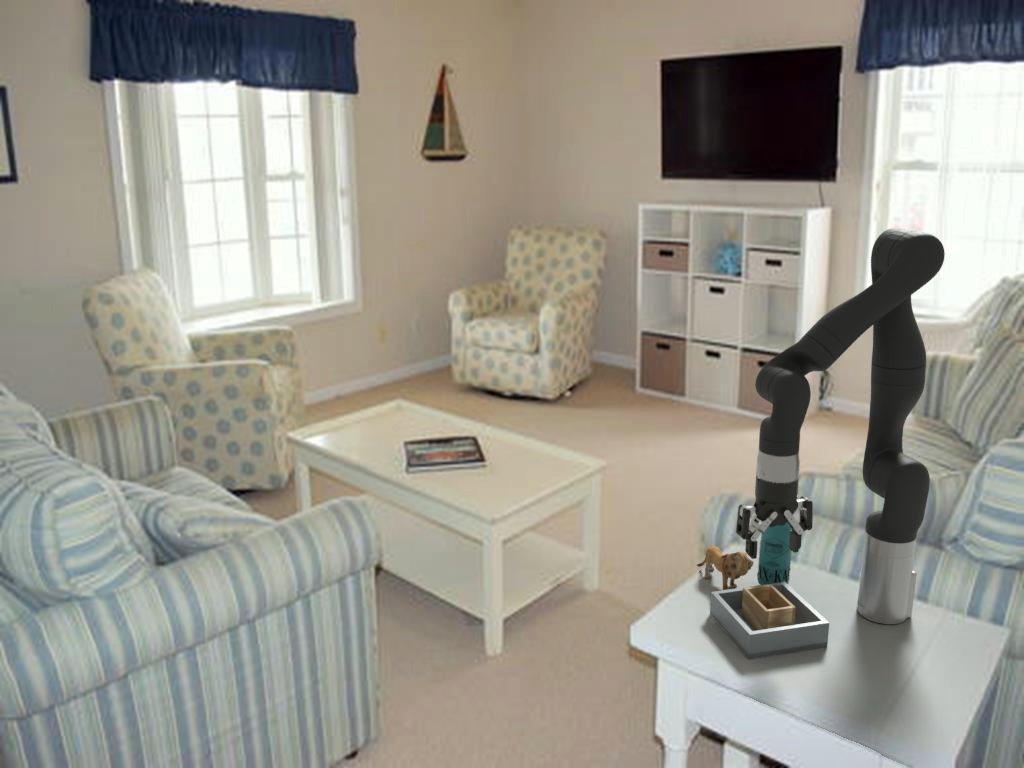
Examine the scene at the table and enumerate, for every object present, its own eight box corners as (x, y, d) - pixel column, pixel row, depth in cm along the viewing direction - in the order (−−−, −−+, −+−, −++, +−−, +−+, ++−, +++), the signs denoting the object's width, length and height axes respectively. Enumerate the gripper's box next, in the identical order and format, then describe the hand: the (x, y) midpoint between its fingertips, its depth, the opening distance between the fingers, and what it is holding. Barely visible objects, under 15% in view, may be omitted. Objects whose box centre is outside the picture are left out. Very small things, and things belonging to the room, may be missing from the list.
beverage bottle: (754, 580, 194) (760, 493, 188) (786, 582, 193) (793, 494, 188) (758, 596, 188) (764, 506, 182) (791, 598, 187) (798, 507, 181)
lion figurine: (755, 592, 189) (758, 553, 187) (736, 599, 187) (739, 559, 184) (705, 564, 201) (707, 527, 199) (687, 571, 199) (689, 533, 196)
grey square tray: (783, 604, 185) (784, 581, 183) (827, 646, 170) (829, 622, 168) (709, 614, 181) (711, 592, 180) (748, 659, 166) (750, 634, 165)
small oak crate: (769, 611, 180) (771, 584, 178) (793, 635, 172) (795, 607, 170) (741, 615, 179) (743, 588, 177) (764, 640, 170) (766, 611, 169)
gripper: (801, 461, 171) (796, 540, 176) (732, 470, 168) (728, 550, 173) (824, 476, 164) (818, 557, 169) (751, 485, 161) (747, 568, 166)
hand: (772, 553), depth 171 cm, fingers open, 8 cm apart
